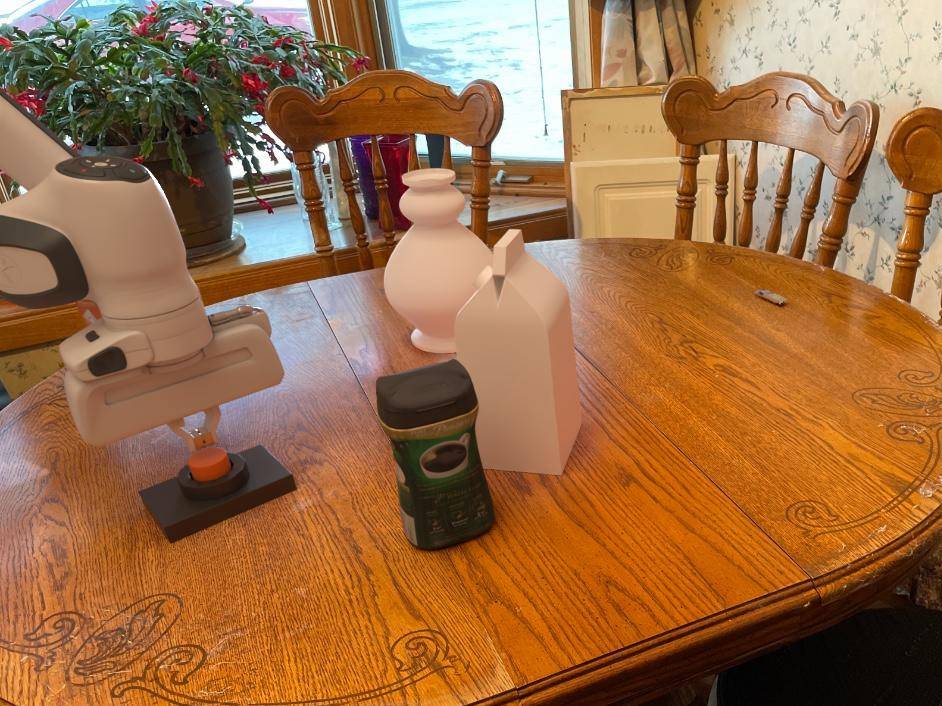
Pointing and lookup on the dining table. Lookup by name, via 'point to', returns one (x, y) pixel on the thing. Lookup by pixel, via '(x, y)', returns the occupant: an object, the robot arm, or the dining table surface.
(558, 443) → the milk
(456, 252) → the decorative vase
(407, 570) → the dining table surface
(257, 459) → the black base plate
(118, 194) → the robot arm
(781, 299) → the granola bar
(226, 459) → the button
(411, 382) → the coffee jar
